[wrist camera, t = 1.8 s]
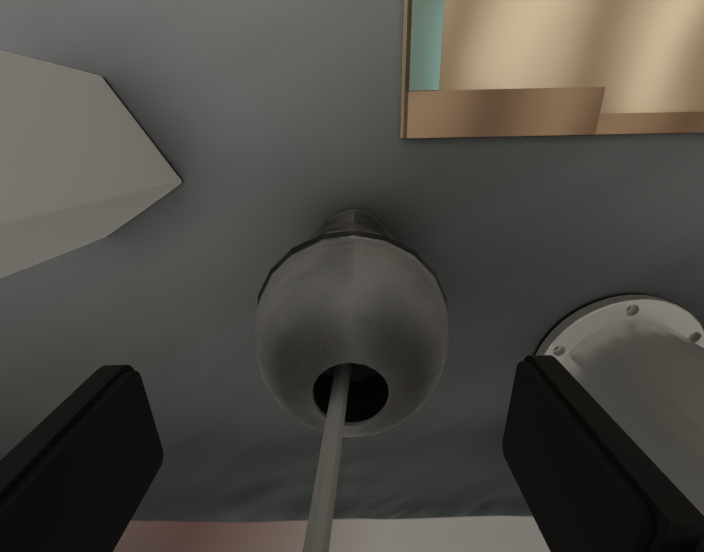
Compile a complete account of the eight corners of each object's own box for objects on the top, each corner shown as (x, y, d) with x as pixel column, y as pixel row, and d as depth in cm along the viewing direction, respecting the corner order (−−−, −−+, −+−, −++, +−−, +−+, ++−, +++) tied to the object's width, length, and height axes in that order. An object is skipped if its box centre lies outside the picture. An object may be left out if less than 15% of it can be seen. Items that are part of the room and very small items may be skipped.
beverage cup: (428, 231, 24) (702, 574, 5) (362, 308, 26) (382, 748, 7) (342, 163, 22) (275, 295, 3) (279, 251, 24) (29, 623, 6)
